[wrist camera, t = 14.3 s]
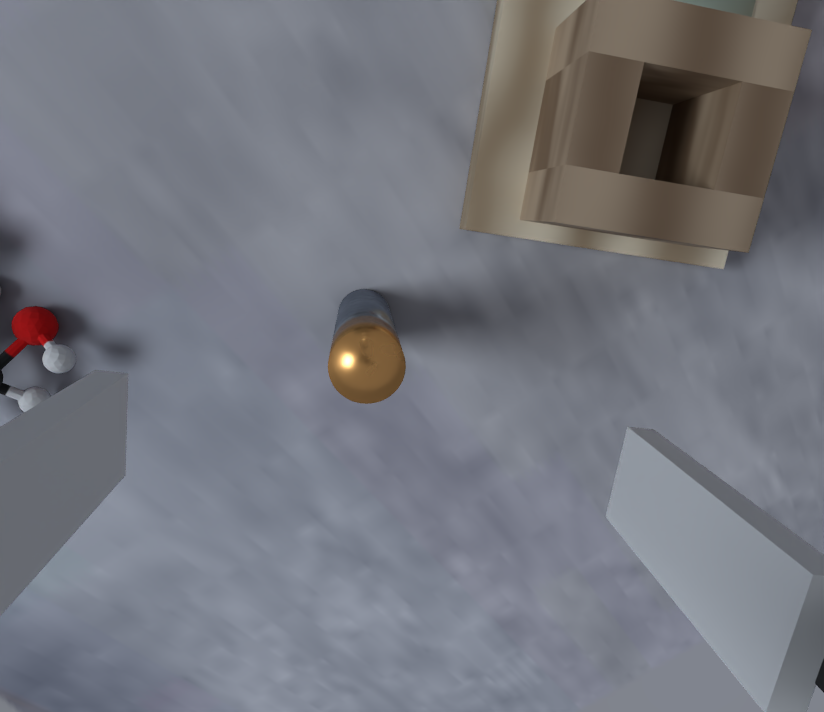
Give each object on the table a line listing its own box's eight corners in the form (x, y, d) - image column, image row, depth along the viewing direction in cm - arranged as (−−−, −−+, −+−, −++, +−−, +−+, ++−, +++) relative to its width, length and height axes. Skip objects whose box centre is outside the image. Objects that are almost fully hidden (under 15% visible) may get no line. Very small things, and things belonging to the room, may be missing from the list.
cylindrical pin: (335, 336, 35) (323, 399, 24) (341, 285, 35) (332, 324, 23) (386, 343, 36) (399, 407, 24) (393, 292, 35) (410, 334, 23)
